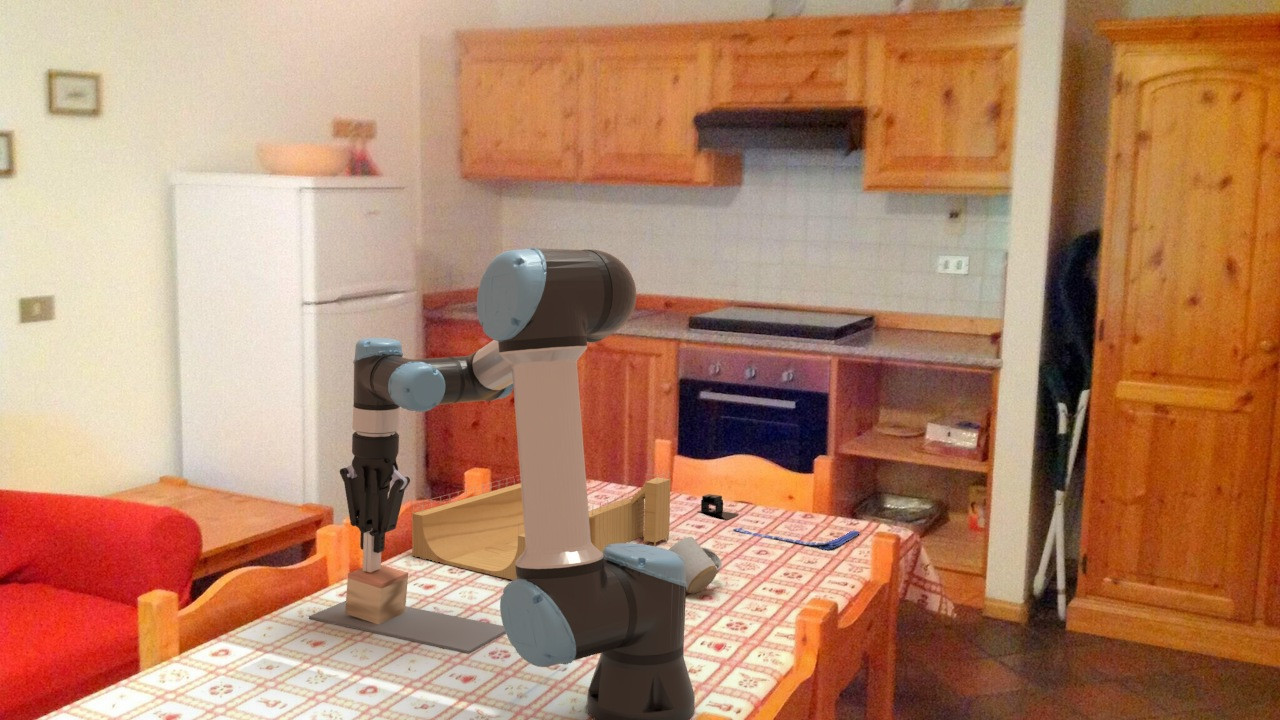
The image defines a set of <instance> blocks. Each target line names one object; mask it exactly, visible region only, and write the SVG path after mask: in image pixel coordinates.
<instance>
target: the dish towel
mask: <svg viewBox="0 0 1280 720" xmlns="http://www.w3.org/2000/svg"><path fill="white" fill-rule="evenodd" d="M732 531H733V532H736V533H737V532H738V533H741V534H746V535H749V536H754V537H760V538H765V539H770V540H779V541H783V542H787V543H792V544H799V545H802V546H807V547H811V548H816V547H817V548H818V549H817V548H816V549H817V550H823V549H825V550H824V551H829V550H833V549H832V548H834V549H836V548H837V547H840V546H842V545H843V543H844V544H845V543H847V542H848V540H849V541H850V540H852V539H853V537H854V538H856V537H857V536H859V535H858V534H859V533H860V532H859V531H858V530H849V531H850V532H849V533H847V534H846V535H844V536H842V537H840V538H838V537H837V538H838V539H835V538H834V539H835V540H833V539H831V540H832V541H830V540H828V541H829V542H827V541H824V542H825V543H823V542H818V543H816V541H810V542H809V541H802V540H799V539H791V538H788V537H787V538H786V537H780V536H773V535H769V534H761V533H758V532H757V533H756V532H751V531H749V530H745V529H743V527H740V528H733V529H732ZM855 536H856V537H855ZM846 541H847V542H846ZM835 547H836V548H835Z"/></svg>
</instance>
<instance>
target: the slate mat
mask: <svg viewBox="0 0 1280 720" xmlns="http://www.w3.org/2000/svg"><path fill="white" fill-rule="evenodd" d="M345 607H346V600H344V601H342V602H339V603H338V604H334V605H333V606H330V607H328V608H327V607H326V608H325V609H323V610H321V611H317V612H315V613H313V614H311V615H308V619H310V620H314V621H319V622H323V623H328V624H332V625H337V626H342V627H346V628H350V629H351V628H352V629H356V630H360V631H365V632H369V633H375V634H377V635H382V636H388V637H391V638H392V637H393V638H397V639H402V640H406V641H410V642H414V643H419V644H423V645H429V646H433V647H439V648H443V649H448V650H452V651H456V652H461V653H466V654H471V653H473V652H474V651H476V650H478V649H480V648H481V647H483V646H485V645H487V644H488V643H490V642H492V641H494V640H495V639H497V638H499V637H500V636H502V635H504V634H506V632H505V629H504V626H503V625H501V624H495V623H491V622H485V621H480V620H475V619H471V618H465V617H461V616H460V617H459V616H455V615H451V614H447V613H446V614H445V613H441V612H437V611H432V610H431V611H430V610H426V609H421V608H416V607H412V606H407V605H406V606H405V612H404V613H402V614H400V615H398V616H396V617H394V618H391V619H389V620H387V621H385V622H383V623H381V624H379V625H378V624H375V623H372V622H369V621H366V620H363V619H360V618H357V617H354V616H351V615H348V614H345Z"/></svg>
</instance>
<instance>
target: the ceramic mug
mask: <svg viewBox="0 0 1280 720" xmlns="http://www.w3.org/2000/svg"><path fill="white" fill-rule="evenodd" d="M668 550H670V551H672V552H675V553H676V554H678V555H679V556H680V557H681V558H682V559H683V560H684V562H685V577H686V583H687V587H686V593H688V594H691V595H692V594H698V593H700V592H701V591H703V590H705V589H706V588H707V587H708V586H709V585H710V584H711V583H712V582H714V580H715V578H716V576H717V574H718V573H719V572H720V570H721V569H722V566H723V565H722V564H723V563H722V561H721V558H720V557H719V556H718V554H717V553H716V552H714V551H713V550H712V549H709V548H706V547H703V546H701V545H700V544H699V542H698V541H697V540H696V539H695V538H694V537H693V536H687V537H684V538H682V539H680V540H678V541H677V542H675V543H674V544H673V545H671V547H669V549H668Z"/></svg>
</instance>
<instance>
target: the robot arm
mask: <svg viewBox="0 0 1280 720" xmlns="http://www.w3.org/2000/svg"><path fill="white" fill-rule="evenodd" d="M633 277H634V276H633V275H632V274H631V271H630V269H629V268H628V267H627V266H626V265H625V264H624V263H623V262H622V260H620V259H619V258H618V257H615V256H614V255H612V254H611V253H608V252H605V251H603V250H602V251H601V250H597V249H564V248H538V247H537V248H535V247H532V248H528V247H527V248H523V249H520V248H519V249H512V250H507V251H503V252H501V253H499V254H497V256H495V257H494V258H492V260H491V261H490V263H488V265H487V267H486V270H485V272H483V274H482V275H481V279H480V282H479V286H478V289H477V296H476V313H477V319H478V322H479V324H480V326H481V327H482V332H483V333H484V334H485V335H486V336H487V337H488V338H490V339H492V341H490V342H489V343H487V344H486V345H484V346H483V347H482V348H480V349H478V350H476V351H474V352H473V353H471V354H469V355H463V356H450V357H449V356H448V357H432V358H431V357H430V358H417V359H412V358H407V357H403V356H404V354H403V347H402V346H403V345H402V343H401V341H399V340H398V339H396V338H395V339H394V338H389V337H365V338H364V337H363V338H361V339H359V340H357V342H356V343H355V349H354V350H355V351H354V359H353V404H352V406H353V407H352V426H351V427H352V430H353V431H354V432H353V433H352V436H351V437H352V440H351V453H352V455H353V456H354V457H353V459H352V460H351V464H350V465H347V466H345V467H343V468H340V470H339V474H340V477H341V480H342V481H343V483H344V490H345V497H346V502H347V509H348V514H349V515H348V516H349V522H350V525H351V526H352V527H356V528H358V530H359V531H360V543H359V546H360V549H361V550H362V568H363V571H367V572H370V573H371V572H373V571H376V570H378V569H380V568H381V565H382V552H384V550H385V544H386V533H388V532H391V531H394V530H395V529H396V528H397V524H398V519H399V515H400V512H401V507H402V504H403V503H402V502H403V499H404V495H405V490H406V489H407V488H408V486H409V484H410V483H411V478H410V477H409V476H403V475H402V473H400V472H399V466H398V463H397V459H398V458H397V457H398V455H399V446H400V434H399V433H398V432H397V431H399V429H400V416H401V415H400V412H401V411H400V410H401V409H405V410H406V411H411V412H419V413H420V412H421V413H424V412H425V413H426V412H428V411H431V410H432V409H434V408H435V407H436V406H439V405H440V406H443V405H451V404H459V403H470V402H471V403H472V402H473V403H474V402H492V401H494V400H499V399H505V398H507V397H509V396H510V395H511V394H512V392H513V397H514V401H513V402H514V412H515V424H516V437H517V449H518V463H519V477H520V483H521V491H522V504H523V517H524V530H525V543H526V548H525V550H524V552H523V553H522V554H521V555H520V557H519V558H518V559H517V560H516V562H515V565H516V578H517V579H515V580H511V581H510V582H509V583H508V584H506V585H505V586H504V589H503V590H502V594H501V596H500V601H499V602H500V604H499V608H500V617H501V622H502V626H504V629H505V632H506V633H505V635H506V637H507V638H508V641H509V642H510V644H511V646H512V647H513V648H514V650H515V651H516V653H517V654H518V655H519V656H520V657H521V658H522V659H523V660H524V661H525V662H527V663H528V664H530V665H533V666H536V667H539V668H548V667H551V666H552V667H553V666H556V665H569V664H570V663H573V662H574V661H577V660H580V659H584V658H588V657H591V656H595V655H597V654H600V656H599V658H598V662H597V664H596V666H595V670H594V672H593V675H592V678H591V681H590V683H589V686H588V689H587V697H586V700H587V701H586V710H587V712H588V714H589V716H590V717H591V718H593V719H594V720H690V719H692V717H693V716H694V715H695V702H696V701H695V698H696V696H695V691H694V688H693V684H692V682H691V678H690V675H689V672H688V668H687V665H686V661H685V657H684V650H685V649H684V648H685V647H684V644H685V622H686V620H685V618H686V602H687V601H686V599H687V598H686V597H687V595H686V594H687V591H686V587H687V583H686V577H685V562H684V560H683V559H682V558H681V557H680V556H679V555H678V554H676V553H675V552H672V551H670V550H669V549H668V548H667V549H666V548H662V547H659V546H656V547H655V546H654V545H650V544H649V545H648V544H645V545H644V543H642V544H641V543H633V542H632V543H630V542H628V543H617V544H610V545H607V546H606V547H605V548H604V549H603V553H602V552H601V551H600V550H598V549H597V548H596V547H595V546H594V545H593V544H592V542H591V537H590V524H589V511H590V510H589V507H588V506H589V501H588V500H589V499H588V489H587V475H586V462H585V451H584V450H585V449H584V438H583V437H584V436H583V425H582V422H583V421H582V413H581V411H582V409H581V398H580V383H579V371H578V361H579V359H580V358H581V357H582V355H583V354H584V353H585V352H586V350H588V344H593V343H598V342H600V341H602V340H603V339H605V338H607V337H610V336H611V335H612V334H615V333H616V332H618V331H619V330H620V329H622V328H623V326H625V325H626V324H627V323H628V321H629V320H630V319H631V317H632V315H633V312H634V311H635V308H636V303H637V287H636V283H635V282H636V281H635V280H634V278H633ZM400 408H401V409H400Z"/></svg>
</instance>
